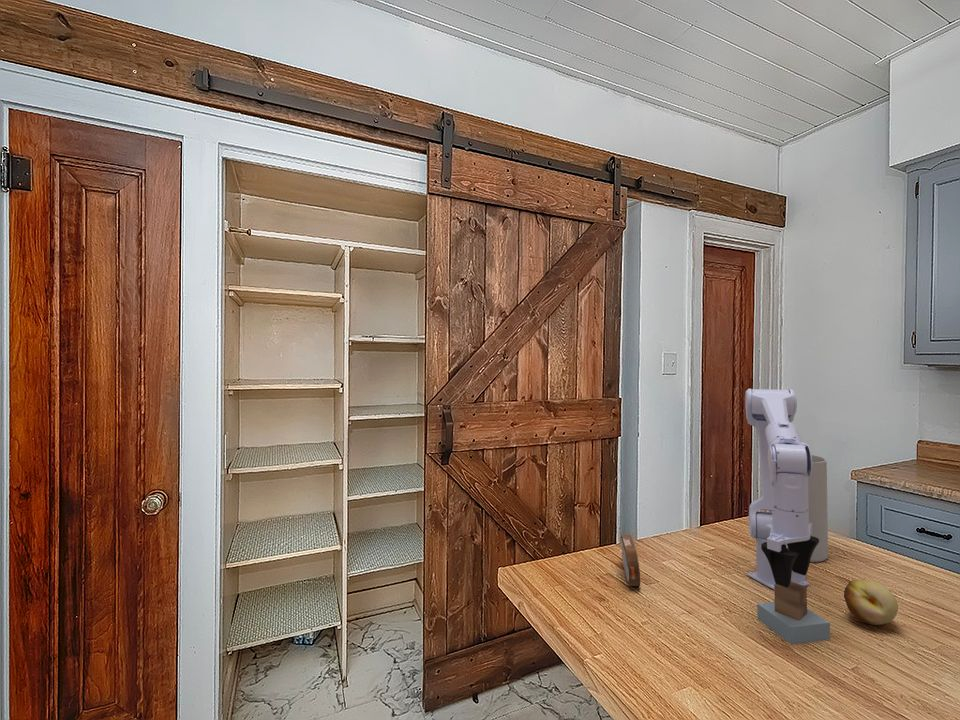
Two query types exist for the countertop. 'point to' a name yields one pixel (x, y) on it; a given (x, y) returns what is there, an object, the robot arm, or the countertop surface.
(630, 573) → the tin
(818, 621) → the base block
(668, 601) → the countertop surface
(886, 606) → the fruit
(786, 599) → the walnut block
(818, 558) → the cylinder vase
